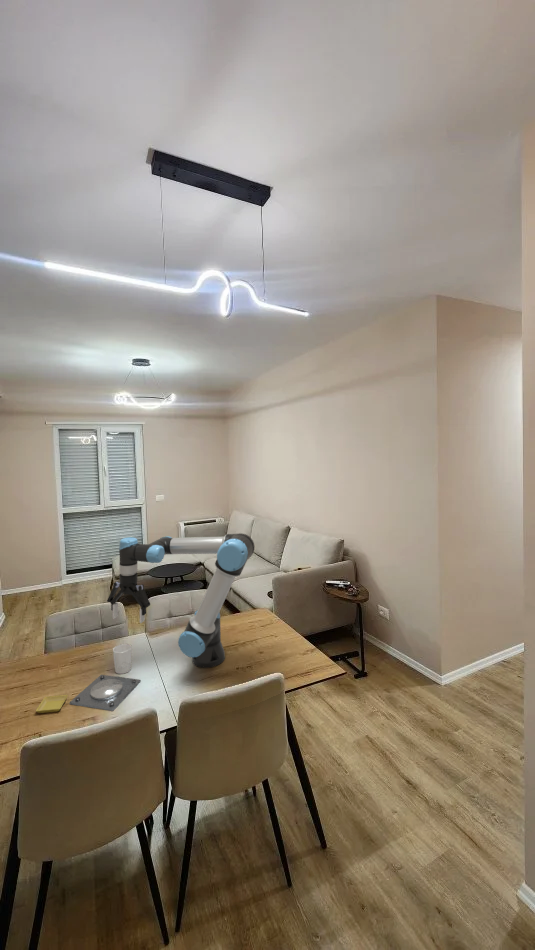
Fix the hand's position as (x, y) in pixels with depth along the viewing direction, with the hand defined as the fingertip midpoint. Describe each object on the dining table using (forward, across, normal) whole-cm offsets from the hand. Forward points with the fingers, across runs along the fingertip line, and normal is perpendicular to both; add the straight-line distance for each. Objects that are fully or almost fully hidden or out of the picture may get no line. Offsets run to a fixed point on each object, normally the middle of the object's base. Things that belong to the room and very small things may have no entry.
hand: (128, 619), depth 174 cm
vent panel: (+22, -2, +18) cm, 29 cm away
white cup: (+22, +1, +2) cm, 22 cm away
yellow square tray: (+23, +12, +31) cm, 40 cm away
